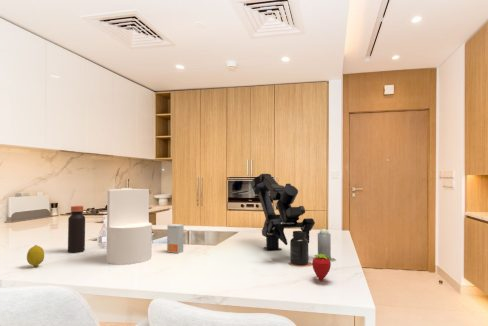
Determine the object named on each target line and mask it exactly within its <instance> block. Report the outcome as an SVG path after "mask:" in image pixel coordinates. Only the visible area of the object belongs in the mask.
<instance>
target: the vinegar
mask: <svg viewBox="0 0 488 326" xmlns="http://www.w3.org/2000/svg"><path fill="white" fill-rule="evenodd" d="M70 212H71V214H70V216H69V217H68V218H67V220H68V221H67V222H68V224H67V229H68V231H67V252H68V253H69V254H71V253H72V254H77V253H82V252H85V250H86V216H85V215H84V214H83V213H84V205H71V207H70Z"/></svg>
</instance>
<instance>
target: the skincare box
mask: <svg viewBox="0 0 488 326" xmlns="http://www.w3.org/2000/svg"><path fill="white" fill-rule="evenodd" d="M184 227H185V225H184V224H181V223H180V224H179V223H178V224H177V223H172V224H171V223H170V224H168V225H167V230H166V231H167V232H166V235H167V238H166V240H167V243H166V252H167V253H171V252H172V254H180V252H181V253H183V252H184V230H185V229H184Z"/></svg>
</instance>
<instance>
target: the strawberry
mask: <svg viewBox="0 0 488 326" xmlns="http://www.w3.org/2000/svg"><path fill="white" fill-rule="evenodd" d="M322 252H323V251H322ZM322 252H321V253H322ZM314 257H315V258H314ZM314 257H313V258H314V259H313V258H312V262H311V263H312V270H313V272H314V273H315V275H316V277H317V279H318V280H319V281H320V282H323V280H324V279H325V278H326V277H327V275H328V274H329V272H330V269H331V267H332V264H331V263H332V262H330V260H329V259H328V258H326V257H329V256H325V255H322V254H319V255H318V254H314Z"/></svg>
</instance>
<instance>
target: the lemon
mask: <svg viewBox="0 0 488 326" xmlns="http://www.w3.org/2000/svg"><path fill="white" fill-rule="evenodd" d="M44 259H45V251H44V249H43V247H41V246H40V245H37V244H35V245H34V246H31V247H30V248H29V250H28V251H27V254H26V260H27V263H28V264H29V265H31V266H33V267H34V268H36V267H38V266H39V265H40V264H42V262H43V261H44Z"/></svg>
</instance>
